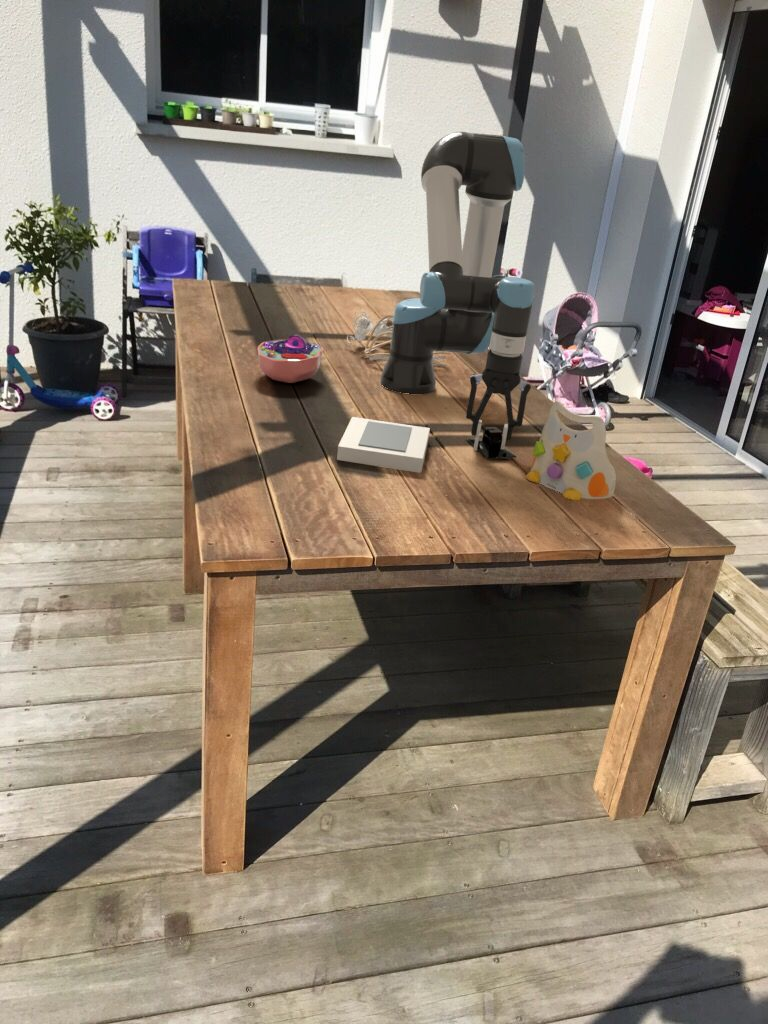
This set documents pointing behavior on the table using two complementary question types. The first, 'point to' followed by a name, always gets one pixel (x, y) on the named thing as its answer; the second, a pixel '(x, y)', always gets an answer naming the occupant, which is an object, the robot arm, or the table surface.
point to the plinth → (384, 444)
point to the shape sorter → (573, 457)
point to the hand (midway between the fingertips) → (488, 450)
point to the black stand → (492, 444)
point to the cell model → (289, 359)
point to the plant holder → (379, 335)
